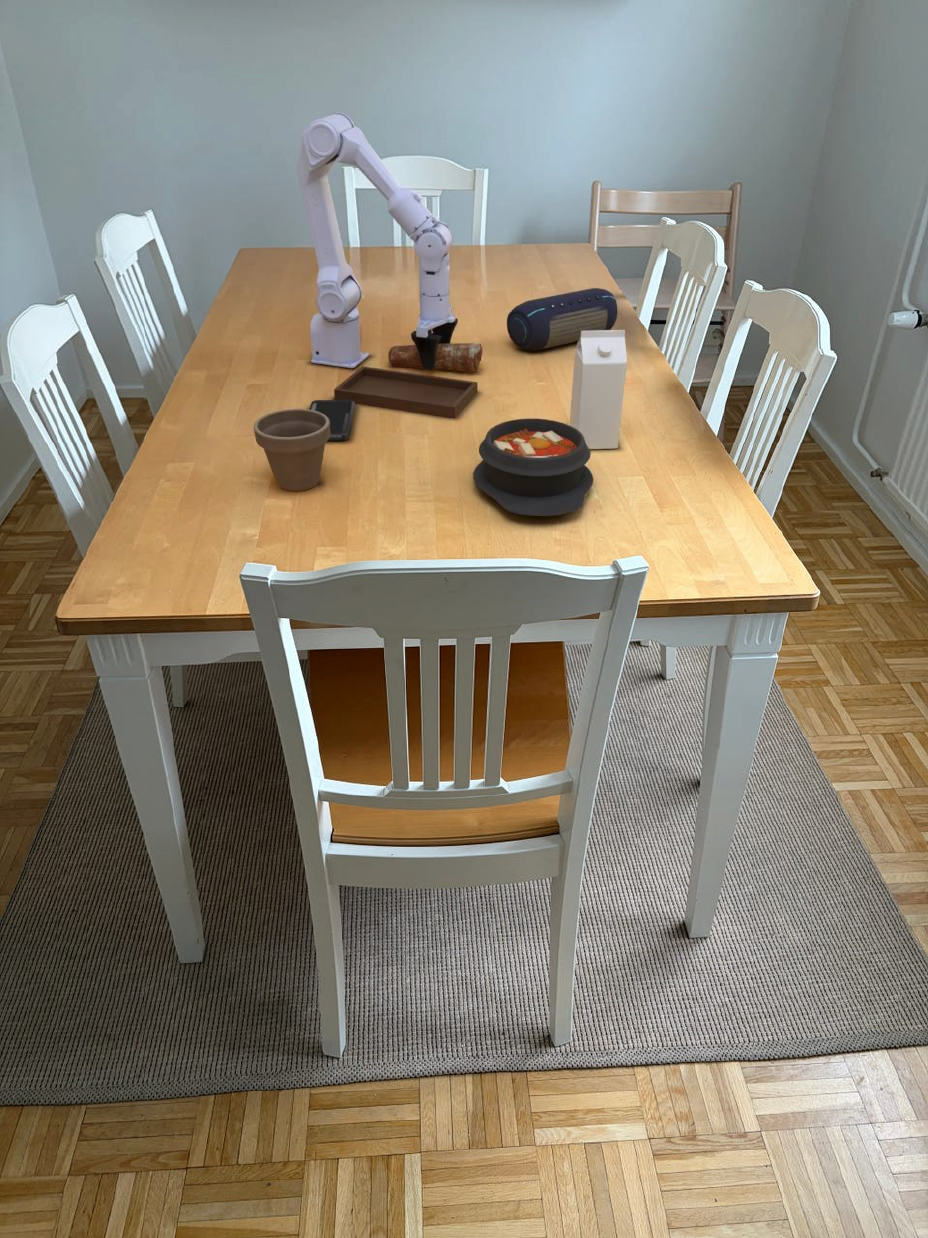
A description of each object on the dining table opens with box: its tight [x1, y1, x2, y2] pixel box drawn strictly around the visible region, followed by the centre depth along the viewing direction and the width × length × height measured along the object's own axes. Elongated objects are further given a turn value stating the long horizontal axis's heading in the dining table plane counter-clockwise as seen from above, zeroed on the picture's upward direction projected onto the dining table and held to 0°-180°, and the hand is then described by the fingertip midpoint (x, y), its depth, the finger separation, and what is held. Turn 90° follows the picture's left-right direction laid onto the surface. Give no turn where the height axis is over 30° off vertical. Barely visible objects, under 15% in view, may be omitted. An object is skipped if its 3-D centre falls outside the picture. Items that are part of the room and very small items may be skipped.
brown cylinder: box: [387, 342, 483, 373], centre depth 188 cm, size 6×19×6 cm, turn 78°
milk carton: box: [568, 329, 628, 450], centre depth 157 cm, size 7×7×19 cm
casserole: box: [472, 418, 594, 517], centre depth 146 cm, size 25×19×8 cm
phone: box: [308, 399, 356, 442], centre depth 167 cm, size 8×1×15 cm
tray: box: [333, 365, 478, 419], centre depth 177 cm, size 24×13×2 cm, turn 71°
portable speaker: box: [506, 287, 619, 351], centre depth 199 cm, size 25×10×10 cm, turn 123°
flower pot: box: [253, 408, 330, 492], centre depth 146 cm, size 12×11×10 cm
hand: (435, 361), depth 188 cm, fingers open, 7 cm apart
